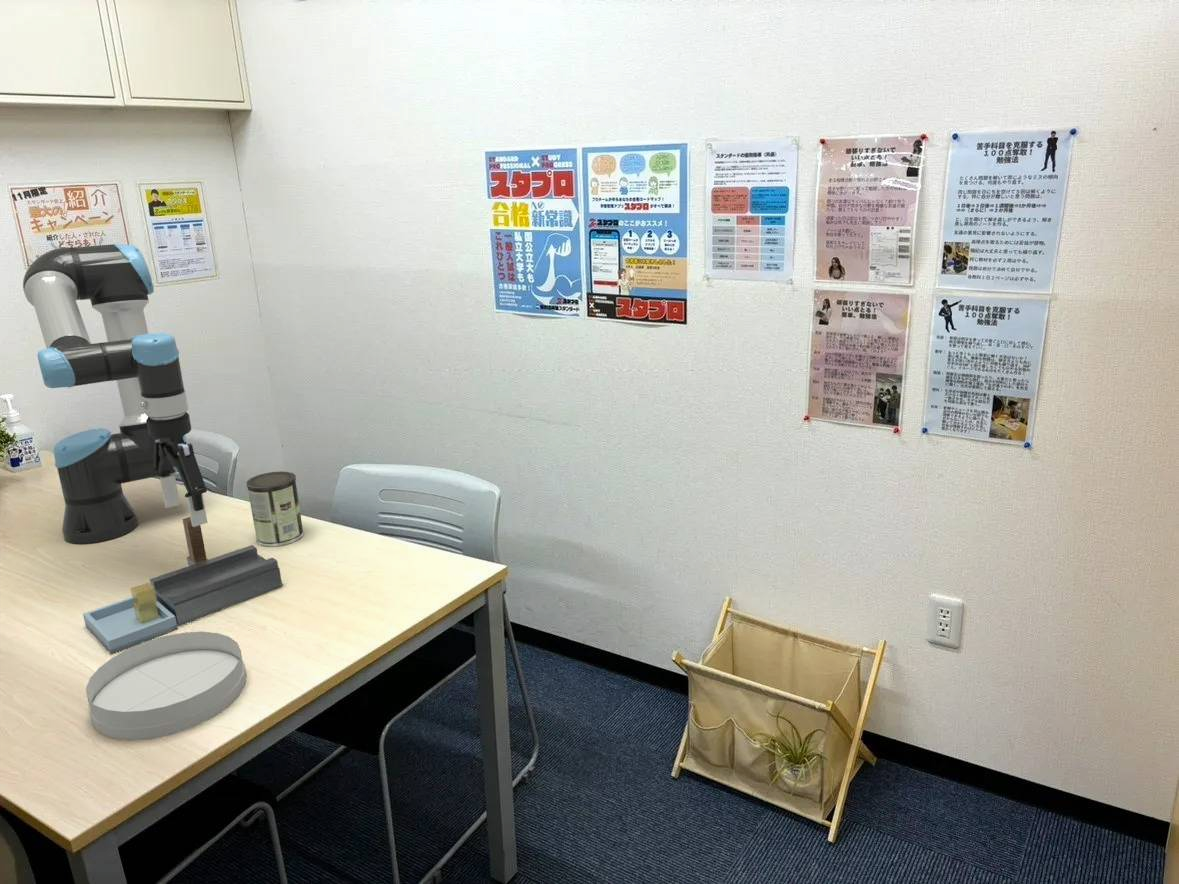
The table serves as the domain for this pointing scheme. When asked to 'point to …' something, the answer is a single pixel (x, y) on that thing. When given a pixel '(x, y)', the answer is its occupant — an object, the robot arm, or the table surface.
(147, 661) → the dish
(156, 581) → the slot bed
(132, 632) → the tray
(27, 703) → the table surface
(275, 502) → the coffee can
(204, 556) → the hammer
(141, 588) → the yellow cube
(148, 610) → the yellow wooden cube
